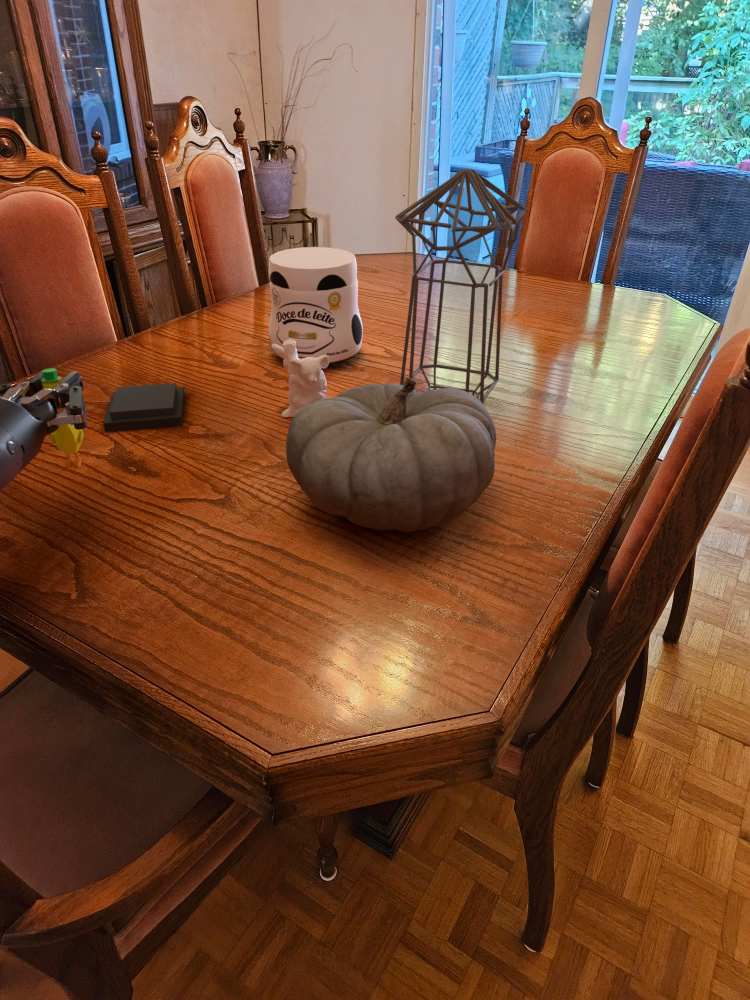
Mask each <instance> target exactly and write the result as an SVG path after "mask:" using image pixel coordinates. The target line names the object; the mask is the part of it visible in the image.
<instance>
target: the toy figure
mask: <svg viewBox="0 0 750 1000" xmlns="http://www.w3.org/2000/svg"><path fill="white" fill-rule="evenodd" d="M41 371H42V373H43V375H44V377H45V378H43V379H41V381H42V385H43V389H52V388H54V387H55V386H57V385H58V383H59V382H60V381H62V377H61V376H58V370H57V368H52V367H51V368H44V369H43V370H41ZM59 402H60V399H59ZM49 435H50V440H51V441H50V442H51V445H54V444H55V445H56V447H57V449H58V450H60V452H62V453H64V454H65V456H66V459H64V461H63V466H64V469H68V470H69V469H71V468H72V467H73V468H74V469H79V468H80V467H82V460H81V457H79V453H78V452H79V450H80V448H81V446H82V444H83V441H84V437H85V434H84V431H83V429H81V430H77V429H75V427H74V425H70V424H66V425H59V427H58V429H57V430H56V431H55V432H53V433H50V434H49ZM72 454H73V455H74V457H75V458H72V457H71V455H72Z"/></svg>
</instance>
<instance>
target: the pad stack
mask: <svg viewBox="0 0 750 1000" xmlns="http://www.w3.org/2000/svg"><path fill="white" fill-rule="evenodd" d="M185 391H186V390H185V387H184V386H180V387H179V386H177V383H176V382H173V383H158V384H145V385H130V386H118V387H116V389H115V391H113V392H112V394H111V396H110V400H109V403H108V407H107V410H106V413H105V417H104V420H103V423H102V425H103V429H104V431H105V433H114V432H125V431H126V432H127V431H138V430H150V429H162V428H163V429H164V428H175V427H182V426H183V421H184V413H185V412H184V411H185V401H186V393H185Z"/></svg>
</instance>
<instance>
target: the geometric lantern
mask: <svg viewBox="0 0 750 1000" xmlns="http://www.w3.org/2000/svg"><path fill="white" fill-rule="evenodd" d="M458 186H459V187H458ZM464 186H465V187H464ZM471 187H472V189H473V191H474V193H475V195H476V197H477V199H478V202H479V203H480V205H481V206H482V208H483V211H482V210H475V209H473V204H472V203H473V202H472V192H471ZM464 188H465V189H466V197H467V198H466V199H467V206H463V205H461V204H462V198H463V193H464ZM457 189H458V191H457V198H456V203H455V204H454V203H450V202H451V200H452V198H453V197H454V194H455V192H456V190H457ZM449 191H450V192H449ZM491 191H492V192H493V193H495V194H496V195H498V196H499V197H501V198H502V199H504V200H505V201H507V202H508V203H510V204H512V205H507V206H505V205H503V204H502V203H501V202H500V200H499V199H498V198H497V197H496V196H495V195H494V194H493V193H492V192H491ZM448 192H449V193H448ZM447 193H448V194H447ZM446 194H447V197H446V199H445V200H444V201H440V200H441V199H442V198H443V197H444V196H445V195H446ZM433 204H434V205H435V206H436V207H438V209H440V210H439V211H438V214H437V215H436V217H435V219H434V221H433V220H425V217H426V212H427V211H428V209H430V208H431V207H432V206H433ZM447 208H449V209H454V213H453V212H451V211H450V210H449V209H447ZM518 210H520V212H519V213H518V214H517V216H516V217H515V216H514V215H513V214H514V213H516V212H518ZM460 211H464V212H468V213H469V215H470V217H469V220H468V225H467V224H466V223H465V222H463V221H462V220H461V219H460V218H459V215H460ZM529 211H530V210H529V209H528V208H527V207H525V206H524V205H522V204H521V203H520V202H518V201H517V200H516V199H514V198H513V197H512V196H510V195H509V194H508V193H506V192H504V191H503V190H502V189H500V187H498V186H496V184H494V183H492V182H491V181H489V179H487V178H486V177H484V176H483V175H481V174H480V173H479V172H477V170H476V169H472V168H471V169H469V168H460V169H459V170H458V171H457V172H456V173H455V174H454V175H452V176H451V177H450V178H449V179H448V180H446V181H445V182H443V183H441V184H440V185H439V186H437V187H436V188H435V189H432V190H431V191H430V192H428V193H427V194H425V195H424V196H423V197H421V198H420V199H418V200H417V201H415V202H414V203H412V204H411V205H409V206H408V207H406V208H405V209H404V210H402V211H400V212H399V213H398V214H396V215H395V217H394V219H395V220H396V221H397V222H398V223H399V224H400V225H401V226H402V228H404V229H405V231H407V232H408V233H409V234H410V235H411V244H412V245H411V247H412V249H411V250H412V276H411V286H410V293H409V302H408V311H407V321H406V329H405V336H404V337H405V338H404V346H403V354H402V363H401V372H400V373H401V374H400V381H399V385H404V384H405V374H406V366H407V357H408V349H409V341H410V354H409V371H408V378H411V379H412V380H414V378H415V377H416V376H417V375H418V374H419V373H420V371H421V373H422V375H423V377H424V379H425V381H426V384H427V386H428V387H427V389H426V391H425V392H427V391H431V389H433V390H437V389H442V388H453V387H452V386H451V387H450V386H443V385H436V384H437V368H438V369H444V370H449V371H457V372H464V373H466V375H465V388H460V387H455V388H456V389H459V390H463V391H465V392H467V393H469V394H470V393H471V395H473V396H475V397H476V398H478V399H479V400H480V401H481V403H482V404H484V402H485V400H486V399H487V397H488V396H489V395H490V394H491V392H492V390H493V389H494V388H495V386H496V385H497V383H498V382H499V377H500V353H501V352H500V351H501V329H502V306H503V305H502V304H503V303H502V302H503V280H504V274H505V271H506V269H507V266H508V263H509V259H510V257H511V253H512V250H513V247H514V244H515V243H516V241H517V237H518V234H519V233H518V232H519V228H520V225H521V223H522V221H523V219H524V217H525V216H526V213H529ZM444 213H445V214H446V215H447V216H448V217H450V218H451V219H452V220H453V221H452V224H451V223H448V222H447V223H446V222H440V220H441V218H442V217H443V215H444ZM494 213H495V214H496V216H497V217H498V219H497V218H496V216H495V214H494ZM417 216H418V218H416V217H417ZM474 216H483V217H484V216H486V217H487V218H488V220H487V224H486V225H475V226H472V222H473V218H474ZM507 218H508V219H509V220H510V221H509V220H508V219H507ZM500 223H502V227H501V226H500ZM414 224H418V226H417V227H415V226H414ZM458 225H460V226H458ZM513 225H514V227H513ZM424 226H430V231H431V232H432V240H433V241H431V240H430V239H428V237H426V236H425V235H424V234H423V228H424ZM437 227H438V228H443V229H444V228H445V229H451V233H452V242H453V243H452V245H446V246H445V245H443V246H441V245H440V246H437V237H436V228H437ZM497 230H498V231H502V241H501V246H499V247H498V248H497V250H496V251H495V253H494V255H492V252H491V249H490V246H489V244H488V241H487V239H486V236H487V235H489V234H491V233H493V232H495V231H497ZM456 232H457V233H459V232H461V233H460V235H459V236H458V237H457V235H456ZM467 232H473V233H477V234H475V235H473V236H471V237H469V238H467V239H465V240H464V241H462V239H463V238H464V236H465V234H466V233H467ZM416 237H419V238H420V239H421V241H422V243H423V246H424V248H425V249H426V252H427V254H426V255H425V257H424V258H423V260H422V262H421V263H420V265H419V267H417V244H416V242H417V241H416ZM481 238H482V239H483V242H484V245H485V248H486V250H487V253H488V255H489V258H490V260H491V261H490V263H489V264H488V263H479V262H469V261H466V259H465V257H464V255H463V253H462V251H461V248H462V247H465V246H467V245H469V244H471V243H473V242H475V241H477V240H479V239H481ZM461 241H462V242H461ZM428 246H429V247H430V249H429V247H428ZM501 248H502V249H504V250H505V249H507V250H506V251H507V252H506V253H505V254H506V255H505V258H504V261H503V264H502V268H501V266H500V265H496V263H495V261H496V258H497V256H498V255H499V253H500V250H501ZM433 250H434V252H448V253H447V254H446V256H445V258H444V259H434V257H433V256H432V254H431V253H432V252H433ZM455 251H456V253H457V255H458V257H459V259H460V261H459V260H451V259H450V257H451V256H452V255H453V253H454V252H455ZM428 258H430V261H429V262H428V263H426V262H427V260H428ZM425 263H426V264H425ZM424 264H425V265H424ZM439 264H441V265H442V266H441V267H442V269H441V277H440V278H441V279H436V278H434V273H435V265H439ZM447 264H456V265H463V267H464V269H465V272H466V273H467V275H468V277H469V279H470V281H471V283H467V282H458V281H450V280H446V271H447V270H446V269H447V268H446V267H447ZM469 266H475V267H483V268H484V267H485V268H487V270H486V272H485V274H484V276H483V278H482V280H481V282H477V281H476V279H475V277H474V275H473V273H472V270H471V269H470V267H469ZM428 267H430V270H429V277H421V276H418V274H420V273H421V272H422V271H424V270H425V269H426V268H428ZM491 268H494V270H495V271H494V278H493V280H491V281H490V282H489V283H488V282H487V283H486V282H485V280H486V278H487V276H488V275H489V272H490V270H491ZM420 281H423V282H428V289H427V297H426V306H425V316H424V326H423V333H422V342H421V350H420V358H419V366H418V368H417V369H416V370H415V371H414V361H415V346H416V345H415V344H416V330H417V329H416V327H417V315H418V299H419V298H418V297H419V284H420V283H419V282H420ZM433 283H439V284H440V287H439V299H438V309H437V313H438V314H437V320H436V321H437V322H436V332H435V343H434V345H435V346H434V355H433V363H432V364H424V360H425V359H424V358H425V351H426V343H427V335H428V325H429V318H430V310H431V300H432V291H433ZM445 284H446V285H453V286H461V287H470V288H471V291H470V293H471V294H470V307H469V308H470V309H469V325H468V339H467V340H468V341H467V356H466V357H467V358H466V359H467V360H466V368H465V367H464V368H463V367H457V366H450V365H443V364H438V355H439V344H440V334H441V323H442V314H443V304H444V303H443V302H444V291H445ZM491 286H493V290H492V291H493V292H492V301H491V311H490V324H489V332H488V333H489V335H488V343H487V326H488V325H487V324H488V303H489V302H488V300H489V287H491ZM478 288H483V307H482V332H481V354H480V355H481V356H480V357H481V359H480V370H478V369H472V368H471V367H472V351H473V336H474V335H473V334H474V320H475V318H474V317H475V302H476V289H478ZM496 305H497V321H496V348H495V372H494V375H493V374H492V373H491V372H490V363H491V355H492V347H493V337H494V336H493V335H494V326H495V325H494V324H495V317H496ZM410 331H411V337H410ZM486 346H487V347H486ZM486 348H487V350H486ZM486 351H487V353H486ZM432 368H433V381H432V382H433V385H431V383H430V381H429V379H428V377H427V375H426V372H425V369H432ZM471 374H476V375H480V381H479V383H478V384H477V386H476V387H475V388H474V389H470V382H471V381H470V380H471ZM487 377H489V378H490V379H492V380H493V382H491V383H490V384H489V385H487V386H486V387H485V380H486V378H487ZM478 390H479V391H478ZM477 391H478V392H477Z"/></svg>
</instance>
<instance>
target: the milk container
mask: <svg viewBox="0 0 750 1000" xmlns="http://www.w3.org/2000/svg"><path fill="white" fill-rule="evenodd" d="M268 279H269V291H270V292H269V293H270V300H271V301H270V302H271V311H270V316H269V317H270V318H269V322H268V339H269V342H270V346H271V349H272V351H273V352H274V354H275V356H277V357H278V358H279V359H281V360H282V361H283V360H284V356H282V355H280V354H279V353H277V352H276V351H275V350H274V349H273V348H272V344H277V345H278V346H281V347H283V345H282V344H283V342H284V341H286V340H288V339H293V340H294V341H295V342H296V350H297V355H298V358H299V359H303V358H307V357H314V358H318V357H320V356H323V355H327V356H328V357H329V365H328V366H332V365H337V364H341V363H344V362H346V361H348V360H351V359H352V358H354V357H355V356H356V355H357V354H358V353H359V351H360V349H361V347H362V343H363V335H364V328H363V327H364V326H363V320H362V318H361V314H360V310H359V304H358V295H359V293H358V291H359V282H358V265H357V258H356V254H354V253H352V252H351V251H348V250H344V249H341V248H335V247H324V246H305V247H304V246H303V247H295V248H287V249H283V250H280V251H277V252H275V253H272V254H270V256H269V259H268Z"/></svg>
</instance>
